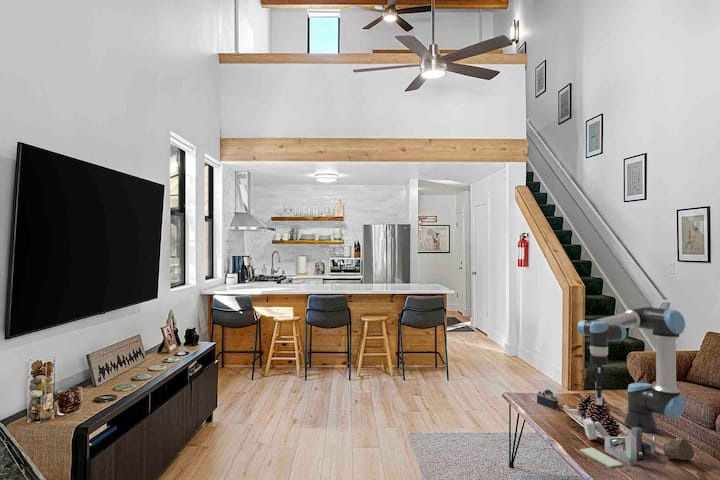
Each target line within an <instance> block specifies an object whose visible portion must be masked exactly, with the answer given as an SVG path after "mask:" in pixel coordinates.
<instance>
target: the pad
mask: <svg viewBox="0 0 720 480" xmlns="http://www.w3.org/2000/svg"><path fill="white" fill-rule="evenodd" d="M579 452H582V453H583V454H584V455H587V456H588V457H590V458H591V459H594V460H595V461H597V462H599V463H600V464H603V465H604V466H606V467H608V468H609V469H612V468H618V467H623V466H624V463H621V462H620V461H618V460H616V459H614V458H612V457H611V456H608V455H607V454H605V453H603V452H601V451H599V450H598V449H596V448H595V447H588V448H587V447H585V448H581V449H579Z"/></svg>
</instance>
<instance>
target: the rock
mask: <svg viewBox="0 0 720 480" xmlns="http://www.w3.org/2000/svg"><path fill="white" fill-rule="evenodd" d="M662 448H663V454H665V457H666V458H667V459H677V460H683V461H685V460H688V461H689V460H692V459H693V458H694V457H695V451H694V449H693V447H692V445H691V444H690V443H689V441H688V440H686V439H685V438H684V439H683V438H682V439H681V438H679V437H676V438H672V439H671V440H669V441H668V442H667V443H665V444H664V445H663V447H662Z"/></svg>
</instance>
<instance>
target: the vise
mask: <svg viewBox="0 0 720 480" xmlns="http://www.w3.org/2000/svg"><path fill="white" fill-rule="evenodd" d="M630 430H631V434H630V435H633V436H635V437H636V450H637V460H639V459H646V458H652V457H653V458H654V457H656V454H654V453H657V452H656V449H657V448H656V447H657V445H656V444H657V442H656V440H657V438H656V436H653V437H652V444H650V443H647V442H645V441H644V440H643V432H642V429H641V428H638V427H631V429H630ZM611 442H612V444H613V445H615V446H616V445H621V444H622V448H623V449H622V450H625V438H623V439H622V438H621V439H620V438H619V439H615V440H612V441H611ZM651 449H652V450H651ZM639 452H642V453H643V456H639ZM652 452H653V453H652Z"/></svg>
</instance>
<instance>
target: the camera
mask: <svg viewBox="0 0 720 480" xmlns="http://www.w3.org/2000/svg"><path fill="white" fill-rule="evenodd" d="M536 404H537V405H540V406H543V407H545V408H548V409H550V408H551V410H553V411H558V410H559V399H558V398H557V396H555V395H554V392H553V391H552V390H551V389H549V388H547V389H545V390H544V391H540V390H538V392H537V393H536Z"/></svg>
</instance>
